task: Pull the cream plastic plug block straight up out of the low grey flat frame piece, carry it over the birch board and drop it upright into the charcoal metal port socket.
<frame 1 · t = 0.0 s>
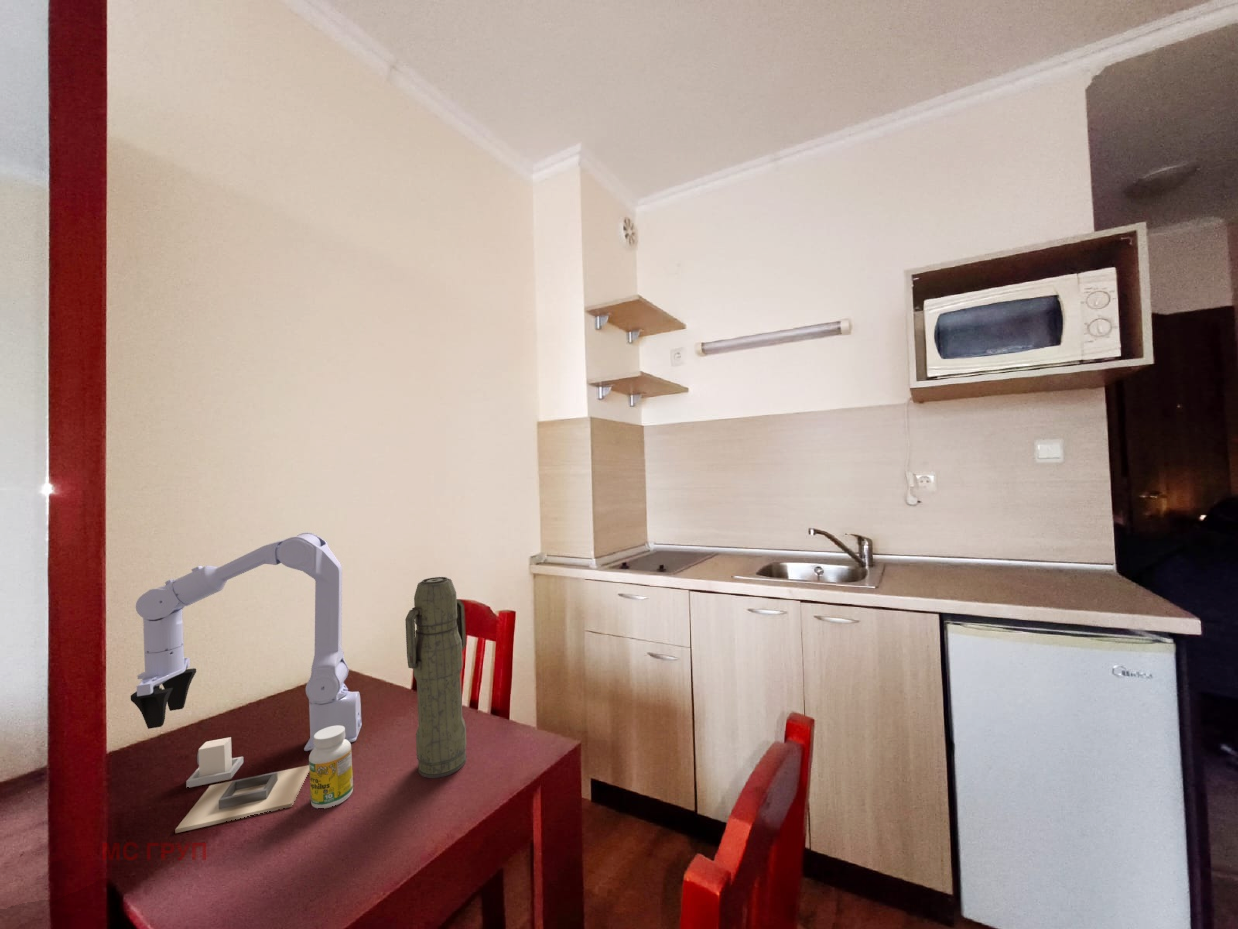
hand: (166, 717, 97), 10 cm above the table, tool pointing down, fingers open, 7 cm apart
thermos: (443, 765, 94), on the table
plug: (216, 775, 94), resting in grey flat frame piece
supplement bottle: (332, 799, 86), on the table
grey flat frame piece: (216, 774, 94), on the table
port board: (249, 797, 87), on the table
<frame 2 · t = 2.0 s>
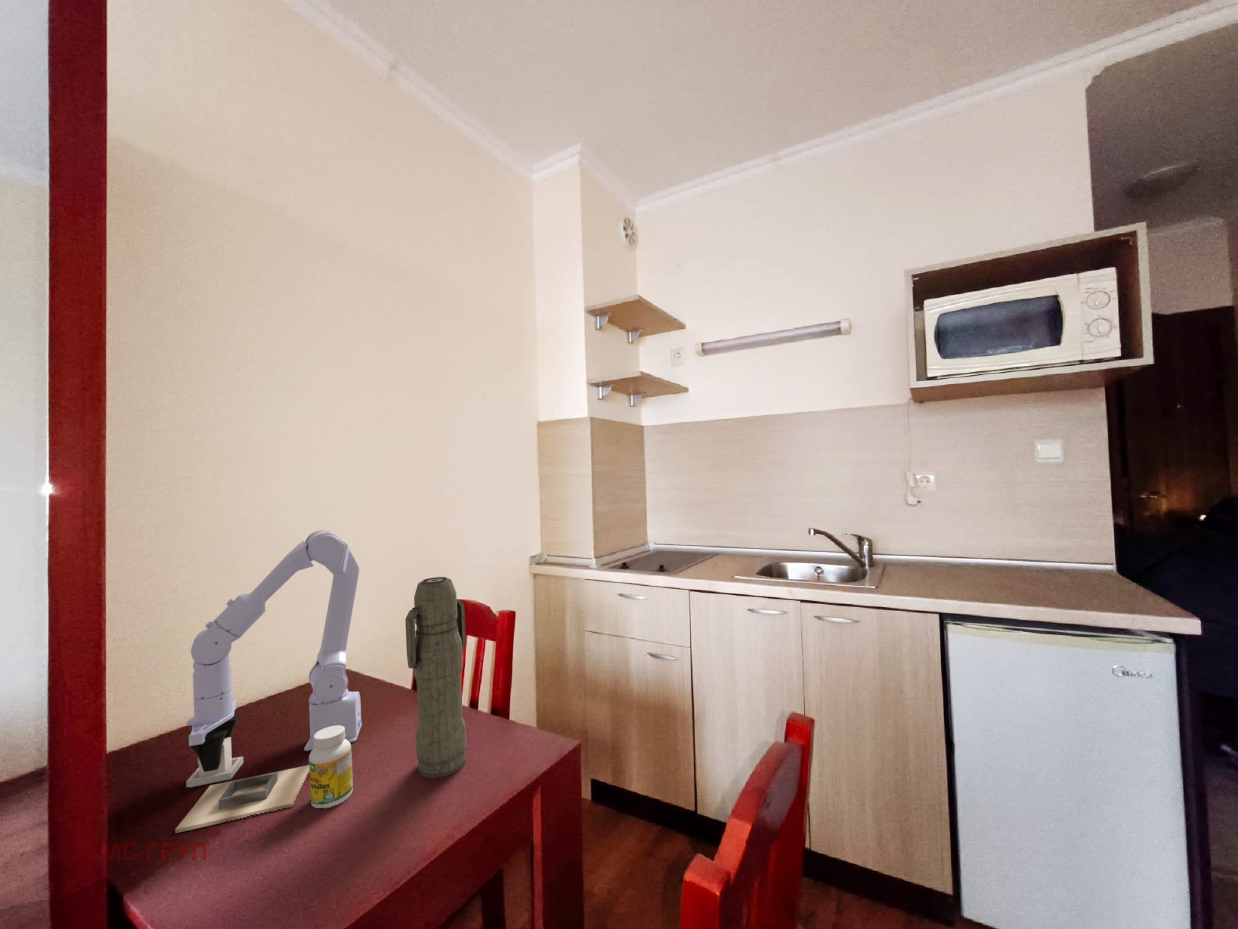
hand: (215, 764, 94), 2 cm above the table, tool pointing down, fingers closed on plug, 3 cm apart
plug: (216, 774, 94), resting in grey flat frame piece, touching gripper
everything else where it was.
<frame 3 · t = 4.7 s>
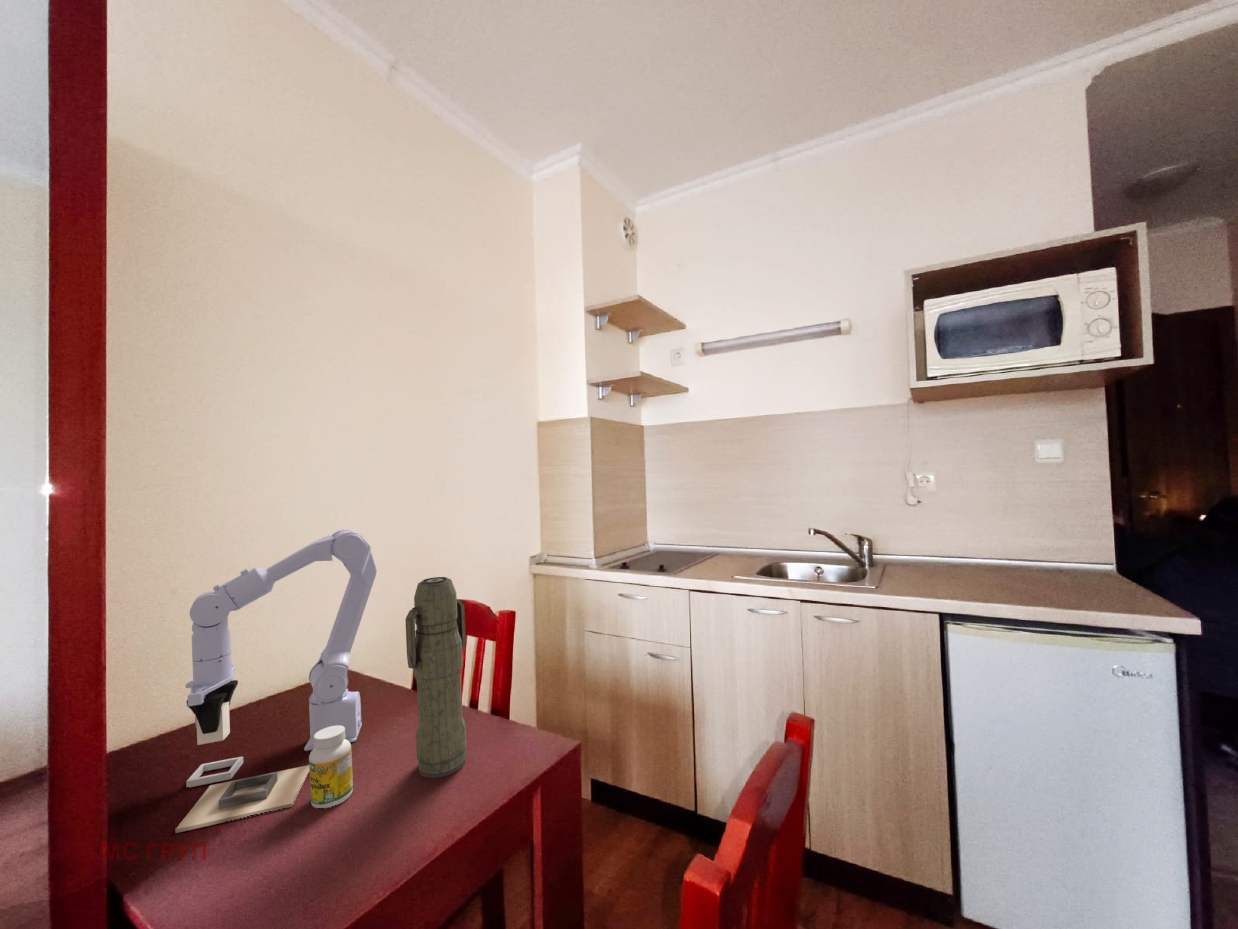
hand: (214, 727, 94), 9 cm above the table, tool pointing down, fingers closed on plug, 3 cm apart
plug: (214, 738, 94), point 7 cm above the table, touching gripper
everything else where it was.
when the fingers open (4 cm above the table, at t = 7.6 s): plug drops 1 cm, resting on port board.
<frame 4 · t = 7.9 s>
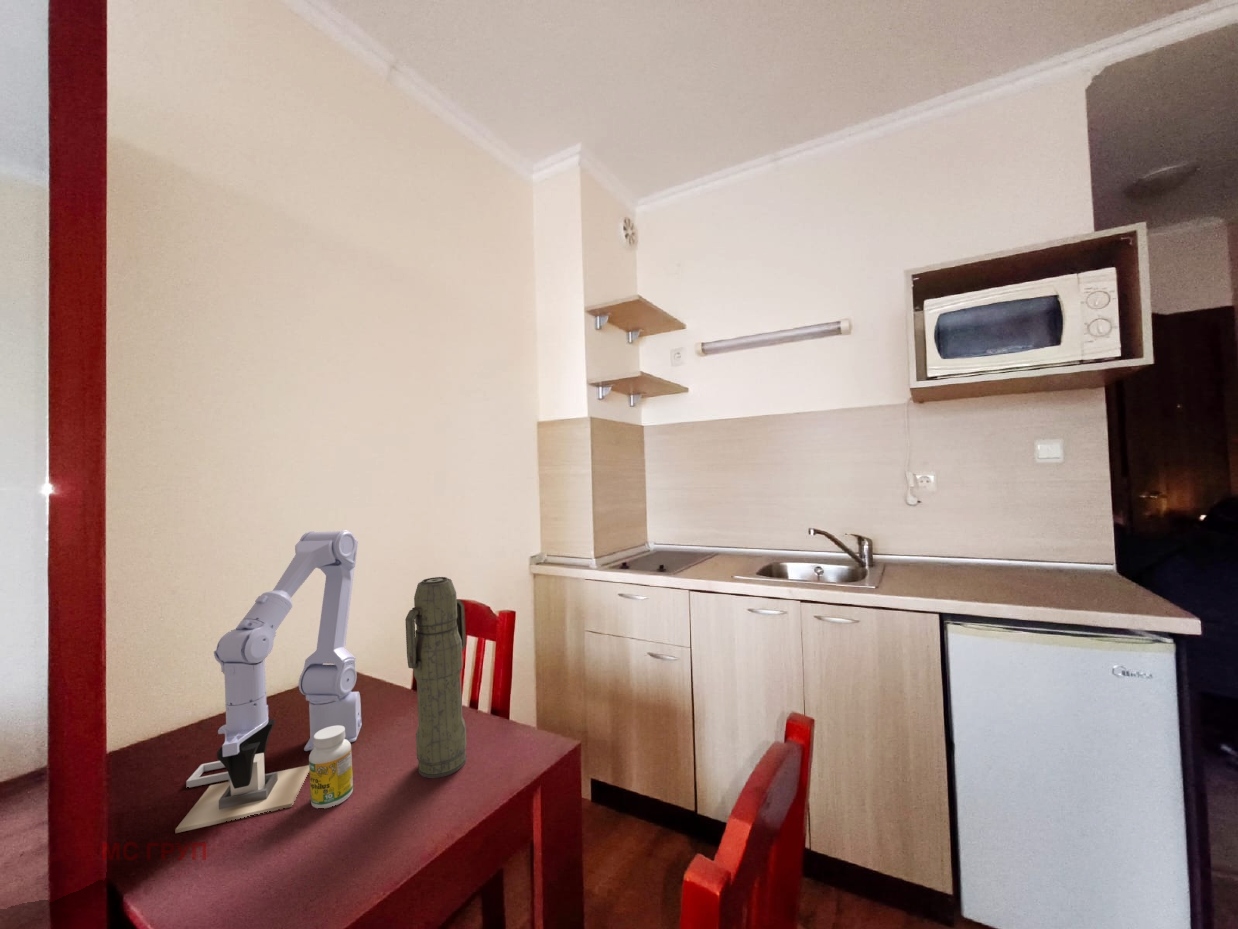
hand: (249, 776, 87), 4 cm above the table, tool pointing down, fingers open, 5 cm apart
plug: (248, 794, 87), point 1 cm above the table, touching port board
everything else where it was.
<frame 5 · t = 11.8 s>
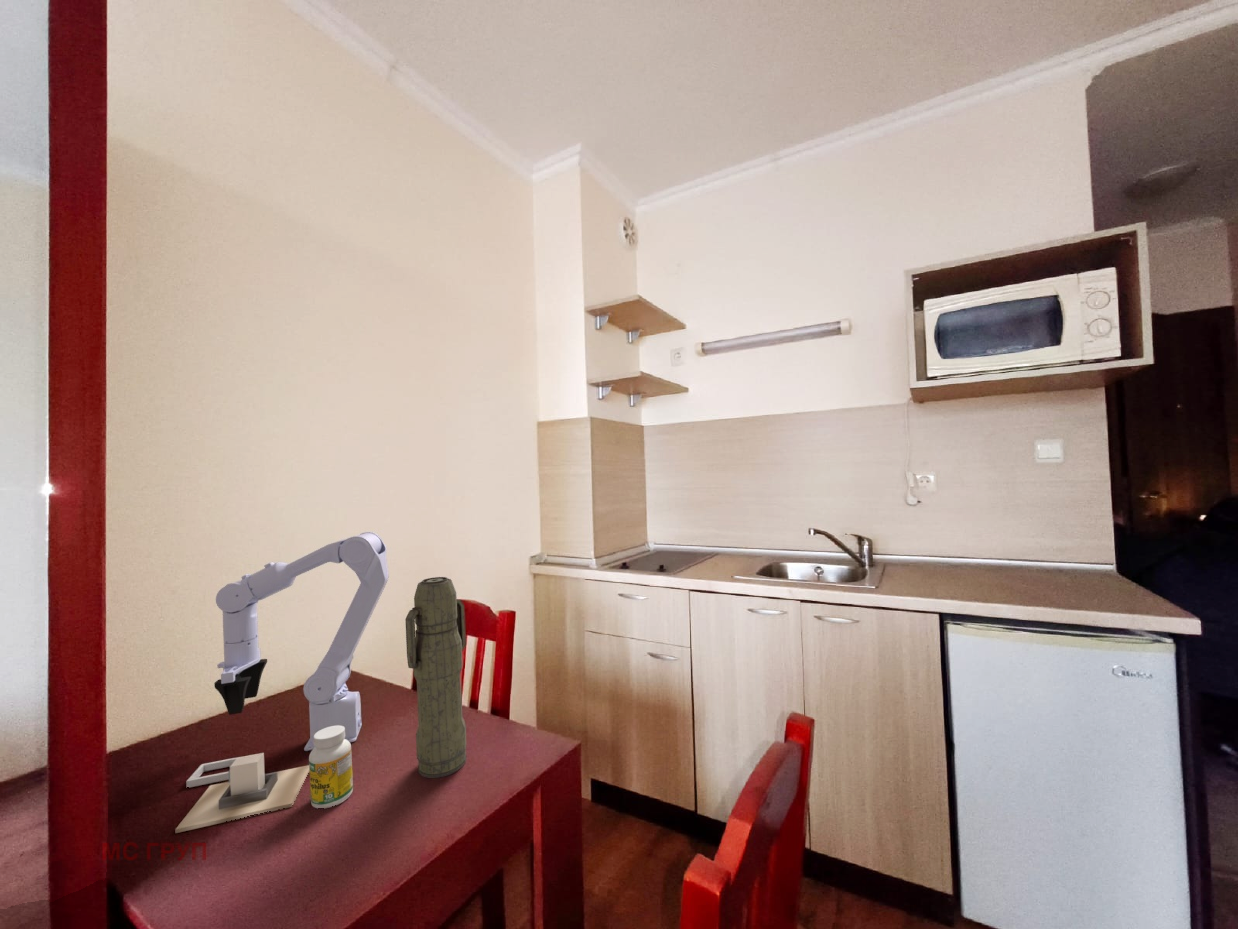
hand: (243, 705, 103), 9 cm above the table, tool pointing down, fingers open, 7 cm apart
nothing on the table moved.
at the end: plug 0.2 cm off-centre on the port board, point 0.6 cm above the port board's base; plug tilted 0°; the gripper is holding nothing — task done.
